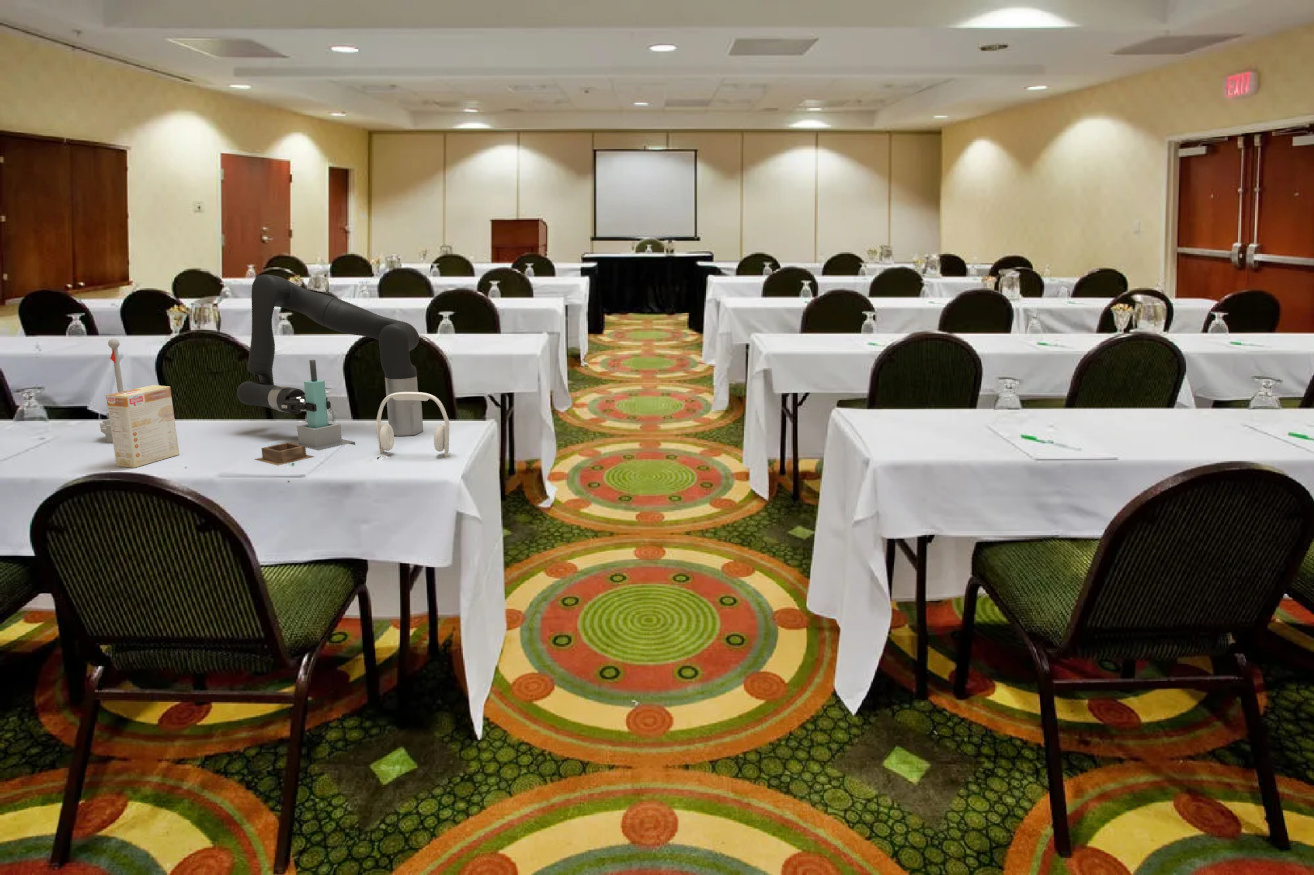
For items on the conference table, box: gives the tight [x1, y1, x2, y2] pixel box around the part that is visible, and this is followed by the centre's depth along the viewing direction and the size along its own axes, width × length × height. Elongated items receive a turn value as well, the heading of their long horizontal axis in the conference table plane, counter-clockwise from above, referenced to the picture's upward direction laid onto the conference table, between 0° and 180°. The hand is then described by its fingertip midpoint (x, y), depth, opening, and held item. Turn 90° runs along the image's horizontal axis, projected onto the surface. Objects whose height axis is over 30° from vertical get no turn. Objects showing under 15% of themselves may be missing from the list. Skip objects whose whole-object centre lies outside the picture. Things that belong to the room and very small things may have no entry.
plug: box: [303, 359, 329, 429], centre depth 272 cm, size 4×4×22 cm
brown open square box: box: [254, 441, 315, 466], centre depth 258 cm, size 11×11×4 cm
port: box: [285, 421, 356, 451], centre depth 275 cm, size 12×16×6 cm
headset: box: [375, 391, 450, 459], centre depth 261 cm, size 20×7×18 cm, turn 86°
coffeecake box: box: [105, 384, 180, 469], centre depth 258 cm, size 15×7×20 cm, turn 159°
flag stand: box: [99, 338, 124, 443], centre depth 283 cm, size 13×13×30 cm
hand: (322, 406), depth 271 cm, fingers closed on plug, 4 cm apart
